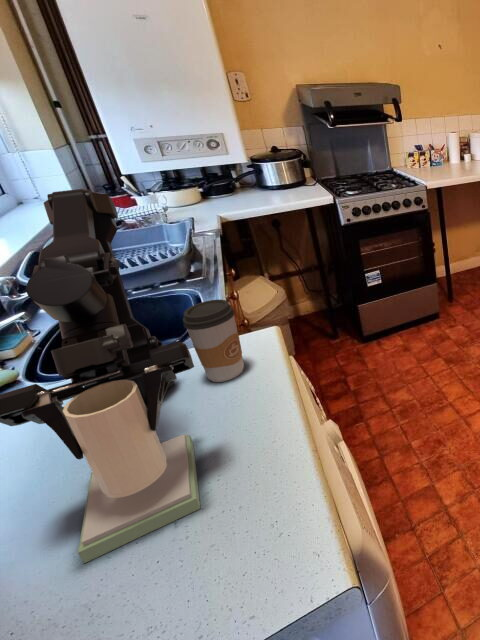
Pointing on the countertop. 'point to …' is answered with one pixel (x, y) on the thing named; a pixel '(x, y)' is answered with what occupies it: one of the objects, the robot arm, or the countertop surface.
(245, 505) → the countertop surface
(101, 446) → the cream cup
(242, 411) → the countertop surface
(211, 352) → the coffee cup
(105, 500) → the kitchen scale
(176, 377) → the robot arm
